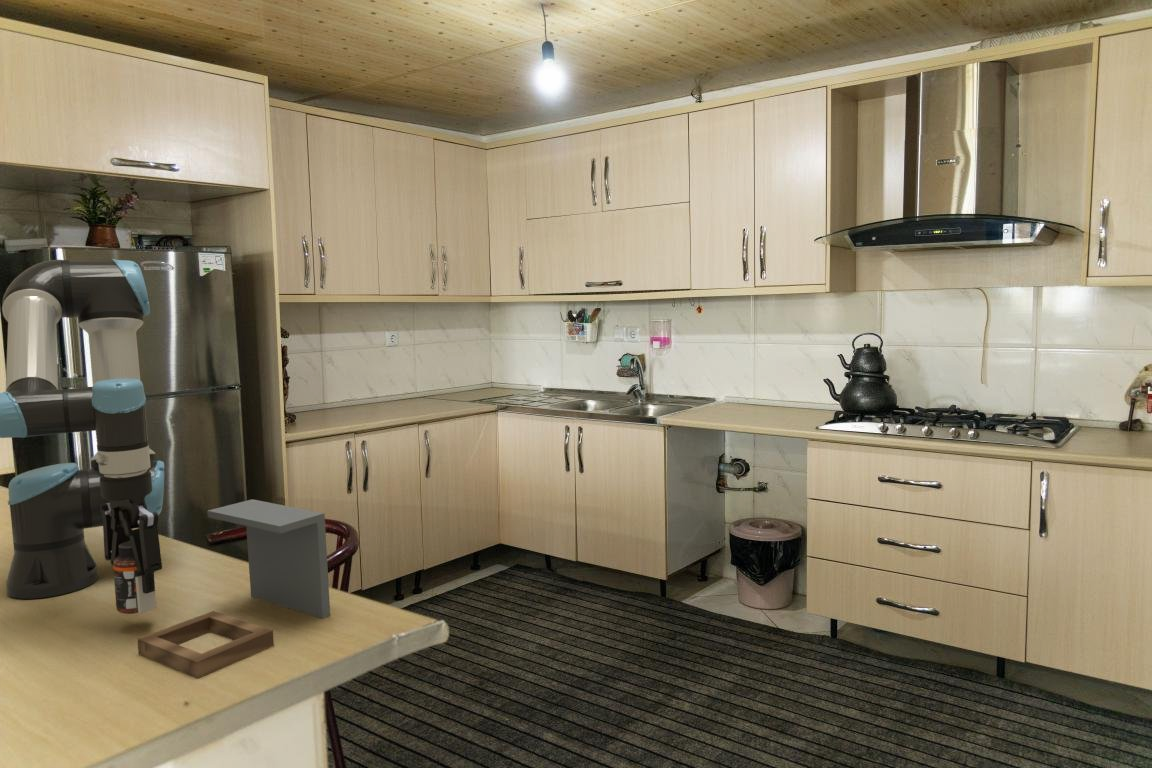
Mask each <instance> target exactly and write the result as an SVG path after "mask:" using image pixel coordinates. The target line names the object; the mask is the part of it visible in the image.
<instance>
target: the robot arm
mask: <svg viewBox="0 0 1152 768" xmlns="http://www.w3.org/2000/svg"><path fill="white" fill-rule="evenodd" d="M149 301H150V300H149V297H148V290H147V286H146V283H145V279H144V275H143V272H142V269H141V267H140V265H139V264H138V263H137V262H135V261H133V260H127V259H126V260H124V259H123V260H121V259H115V258H111V259H49V260H44V261H42V262H39V263H36V264H34V265H32V266H30V267H28V268H26V269H25V270H24V271H22V272H21V273H19V274H18V276H16V277H15V278H14V279H13V280H12V281H11V283H10V284H9V285H8V286H7V288H6V290H5V293H4V294H3V297H2V303H1V304H2V306H1V310H2V316H3V318H4V319H5V320H6V322H7V344H6V346H7V348H6V375H5V391H2V392H0V439H6V438H7V439H9V438H10V439H11V438H21V439H22V438H23V439H24V438H29V437H38V436H39V437H40V436H50V435H59V434H70V433H82V432H94V431H95V438H96V449H97V451H96V453H95V454H94V455H93V456H92V457H91V458H90V468H87V469H80V467H79V466H78V464H77V463H75V462H67V463H57V464H51V465H47V466H42V467H38V468H34V469H32V470H31V469H30V470H27V471H24V472H22V473H20V474H18V475H16V476H14V477H13V478H12V479H11V480H10V482H9V483H8V501H7V505H8V506H9V511H10V521H11V531H12V541H13V542H12V543H13V557H12V560H11V564H10V568H9V571H8V575H7V578H6V581H5V582H6V584H5V585H6V593H7V595H8V596H9V597H10V598H13V599H19V600H21V599H23V600H25V599H27V600H29V599H31V600H33V599H41V598H49V597H54V596H60V595H64V594H68V593H72V592H76V591H78V590H81V589H84V588H86V587H88V586H90V585H92V584H94V583H95V582H96V581H98V579H99V571H98V565H97V564H96V561H95V559H94V558H93V555H92V553H91V551H90V549H89V547H88V545H87V543H86V541H85V540H86V539H85V534H84V533H85V530H84V529H91V528H98V527H99V528H100V527H102V530H103V531H102V532H103V534H102V535H103V547H104V548H103V551H104V559H105V560H106V561H110V564H111V566H112V567H113V562H114V560H115V559H116V558H117V557H118V555H119V545H120V544H122V543H124V542H128V541H130V542H131V546H132V550H133V554H134V558H135V562H136V566H137V570H138V573H135V574H134V576H135V580H136V592H137V604H138V613H137V614H144V613H146V612H148V611H151V610H154V609H157V599H156V598H157V595H156V591H155V590H156V585H155V584H156V583H154V582H155V572H157V571H161V570H162V569H163V564H162V554H161V545H160V538H159V537H160V535H159V529H158V525H159V524H158V523H159V522H158V521H159V515H161V512H162V510H163V505H164V491H165V462H164V461H161V460H157V458H156V452H155V451H153V450H152V449H151V448H150V445H149V440H148V422H147V418H148V417H147V408H146V402H147V397H146V394H145V388H144V384H143V381H142V380H141V373H140V370H141V369H140V361H139V351H138V350H139V349H138V340H137V339H138V338H137V331H138V330H139V329H140V328H141V327H142V326H143V325H144V317H146V316H149V315H150V314H151V308H150V307H151V305H150V302H149ZM61 318H67V319H68V318H74V319H75V318H77V319H78V327H80V329H82V330H83V331H85V332H86V333H87V335H88V344H89V356H90V369H91V380H92V386H90V387H88V386H87V387H78V388H77V387H76V388H75V387H74V388H59V377H58V373H59V372H58V371H59V370H58V344H57V343H58V341H57V337H58V336H57V324H59V322H60V320H61Z"/></svg>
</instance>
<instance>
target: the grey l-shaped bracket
mask: <svg viewBox="0 0 1152 768" xmlns="http://www.w3.org/2000/svg"><path fill="white" fill-rule="evenodd" d="M206 513H207V518H208V519H209V518H210V519H215V520H218V521H222V522H223V521H224V522H227V523H232V524H237V525H240V526H246V543H247V555H248V556H247V557H248V570H249V571H248V572H249V573H248V574H249V585H250V597H251V598H254V599H257V600H260V601H264V602H267V603H270V604H274V605H277V606H281V607H284V608H287V609H290V610H294V611H298V612H301V613H303V614H307V615H310V616H314V617H317V618H321V619H325V618H327V617H330V616H331V607H330V606H331V605H330V604H331V603H330V589H329V588H330V587H329V572H328V571H329V570H328V566H329V565H328V555H327V554H328V552H327V550H328V549H327V534H326V520H325V519H326V516H325V512H320V511H315V510H311V509H310V510H309V509H304V508H299V507H294V506H288V505H284V504H278V503H273V502H268V501H263V500H258V499H253V498H252V499H248V500H244V501H239V502H237V503H233V504H228V505H224V506H220V507H216V508H212V509H208V510H207V512H206Z"/></svg>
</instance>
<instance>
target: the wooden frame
mask: <svg viewBox="0 0 1152 768" xmlns="http://www.w3.org/2000/svg"><path fill="white" fill-rule="evenodd" d="M208 633H213V634H215V635H219V636H222V637H225V638H228V639H230V640H232V641H229V642H226V643H224V644H222V645H219V646H217V647H215V648H212V649H210V650H207V651H205V652H202V653H201V652H198V651H195V650H192V649H190V648H187V647H184V646H182V645H181V644H182V643H184V642H188V641H190V640H192V639H194V638H195V639H196V638H199V637H200V636H203V635H205V634H208ZM136 639H137V649H138V650H137V651H138V655H140V654H141V655H140V656H142V655H143V656H142V657H145V658H147V657H148V659H150V660H152V661H155V662H157V663H159V662H160V664H162V665H165V666H167V667H169V668H172V669H175V670H177V671H178V672H179V671H180V672H181V673H184V674H187V675H189V676H192V677H195V678H197V679H199V678H202V677H204V676H207V675H209V674H211V673H214V672H216V671H218V670H221V669H222V668H225V667H227V666H229V665H232V664H234V663H236V662H239V661H241V660H243V659H247V658H248V657H251V656H253V655H255V654H257V653H259V652H262V651H264V650H267V649H269V648H271V647H274V645H275V643H274V642H275V641H274V631H273V629H270V628H267V627H264V626H261V625H259V624H255V623H252V622H250V621H249V622H248V621H245V620H242V619H239V618H236V617H233V616H230V615H227V614H224V613H220V612H217V611H214V610H212V611H209V612H206V613H203V614H201V615H198V616H196V617H193V618H189V619H187V620H184V621H182V622H179V623H176V624H173V625H171V626H168V627H165V628H162V629H160V630H157V631H154V632H152V633H149V634H147V635H143V636H140V637H138V638H136Z"/></svg>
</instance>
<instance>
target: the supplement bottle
mask: <svg viewBox="0 0 1152 768" xmlns="http://www.w3.org/2000/svg"><path fill="white" fill-rule="evenodd" d="M112 567H113V569H112V570H113V580H114V593H115V606H116V610H117V612H119V613H121V614H125V615H126V614H127V615H132V614H134V615H135V614H139V613H138V604H137V592H136V580H135V576H134V574H135V573H138V570H137V566H136V562H135V558H134V554H133V550H132V546H131V542H130V541H128V542H124V543H122V544H120V545H119V555H118V557H117V558H116V559H115V560H114V562H113V566H112ZM154 583H155V581H154ZM155 584H156V583H155ZM156 590H157V589H155V592H156Z"/></svg>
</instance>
